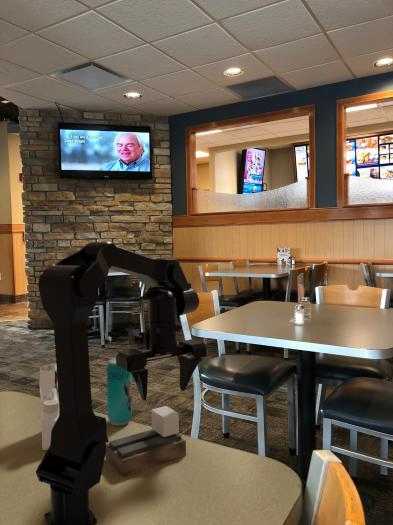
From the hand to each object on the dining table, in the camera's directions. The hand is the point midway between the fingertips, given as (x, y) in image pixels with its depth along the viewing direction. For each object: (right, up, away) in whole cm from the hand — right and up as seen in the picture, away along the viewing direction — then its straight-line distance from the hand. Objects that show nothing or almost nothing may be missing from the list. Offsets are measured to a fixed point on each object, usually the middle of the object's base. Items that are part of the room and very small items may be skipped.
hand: (163, 395), depth 89 cm
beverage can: (-12, -11, +15) cm, 22 cm away
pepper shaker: (-24, -12, +3) cm, 27 cm away
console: (-3, -12, -2) cm, 13 cm away
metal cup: (-26, -12, +11) cm, 30 cm away
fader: (0, -8, 0) cm, 8 cm away
